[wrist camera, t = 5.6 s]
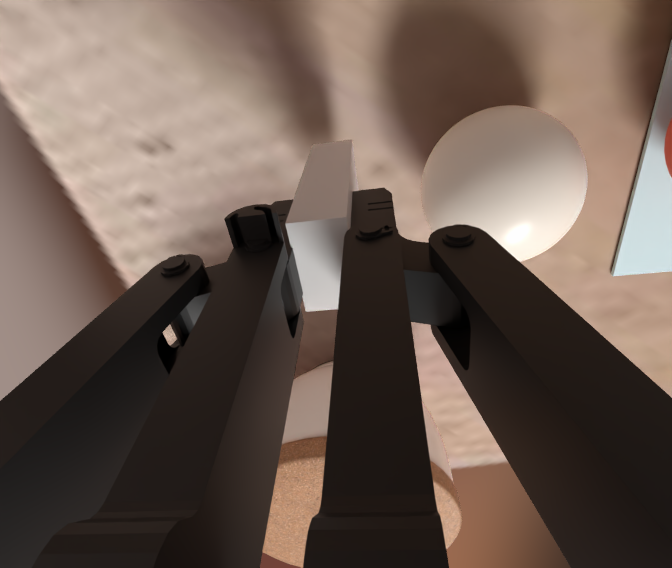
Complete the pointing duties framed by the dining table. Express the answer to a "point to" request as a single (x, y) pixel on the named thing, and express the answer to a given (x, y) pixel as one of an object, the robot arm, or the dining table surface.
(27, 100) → the dining table surface
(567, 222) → the cue ball
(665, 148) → the red ball
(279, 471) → the lidded jar
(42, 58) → the dining table surface
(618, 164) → the dining table surface
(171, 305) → the robot arm
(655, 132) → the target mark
